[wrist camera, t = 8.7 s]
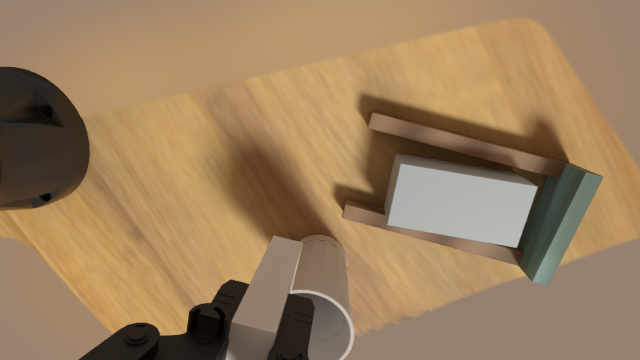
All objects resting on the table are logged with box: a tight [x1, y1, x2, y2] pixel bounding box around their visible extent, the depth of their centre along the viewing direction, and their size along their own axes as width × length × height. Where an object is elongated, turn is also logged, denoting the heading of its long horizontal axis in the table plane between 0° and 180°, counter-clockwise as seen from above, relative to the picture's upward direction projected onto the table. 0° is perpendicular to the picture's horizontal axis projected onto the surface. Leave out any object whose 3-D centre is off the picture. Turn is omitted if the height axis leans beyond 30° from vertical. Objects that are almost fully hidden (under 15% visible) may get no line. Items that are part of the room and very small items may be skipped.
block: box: [384, 153, 538, 248], centre depth 35 cm, size 12×6×5 cm, turn 81°
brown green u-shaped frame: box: [342, 111, 603, 286], centre depth 35 cm, size 20×11×5 cm, turn 76°
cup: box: [291, 235, 354, 360], centre depth 35 cm, size 8×8×12 cm
